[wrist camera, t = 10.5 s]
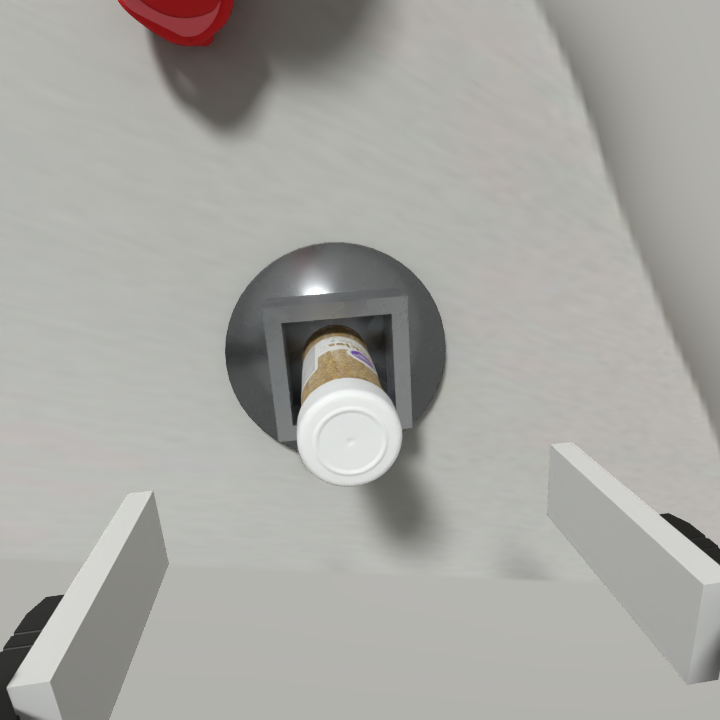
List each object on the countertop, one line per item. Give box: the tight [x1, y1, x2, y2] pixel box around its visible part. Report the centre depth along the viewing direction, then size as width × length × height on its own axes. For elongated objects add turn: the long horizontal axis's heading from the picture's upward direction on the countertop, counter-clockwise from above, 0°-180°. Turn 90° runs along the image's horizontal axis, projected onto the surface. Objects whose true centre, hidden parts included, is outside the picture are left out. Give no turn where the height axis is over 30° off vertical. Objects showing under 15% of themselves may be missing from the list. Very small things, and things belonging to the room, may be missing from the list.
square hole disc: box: [225, 242, 445, 449], centre depth 32 cm, size 15×15×4 cm
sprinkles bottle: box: [297, 325, 402, 487], centre depth 27 cm, size 5×5×14 cm
